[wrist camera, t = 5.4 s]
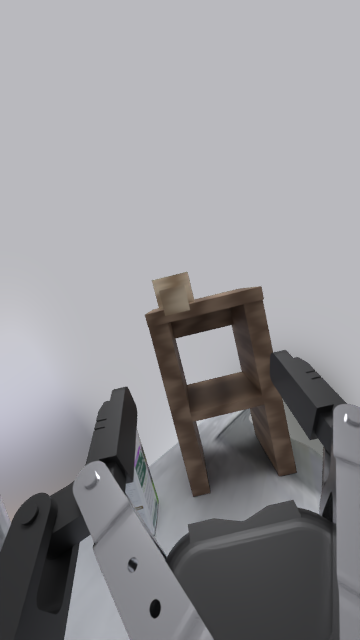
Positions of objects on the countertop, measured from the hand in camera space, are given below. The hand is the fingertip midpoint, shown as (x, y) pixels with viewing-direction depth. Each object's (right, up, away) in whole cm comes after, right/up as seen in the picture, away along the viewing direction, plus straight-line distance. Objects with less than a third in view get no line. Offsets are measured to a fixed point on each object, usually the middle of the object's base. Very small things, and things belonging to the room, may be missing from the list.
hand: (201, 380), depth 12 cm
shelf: (+10, -24, +30) cm, 40 cm away
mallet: (-2, +5, +19) cm, 20 cm away
